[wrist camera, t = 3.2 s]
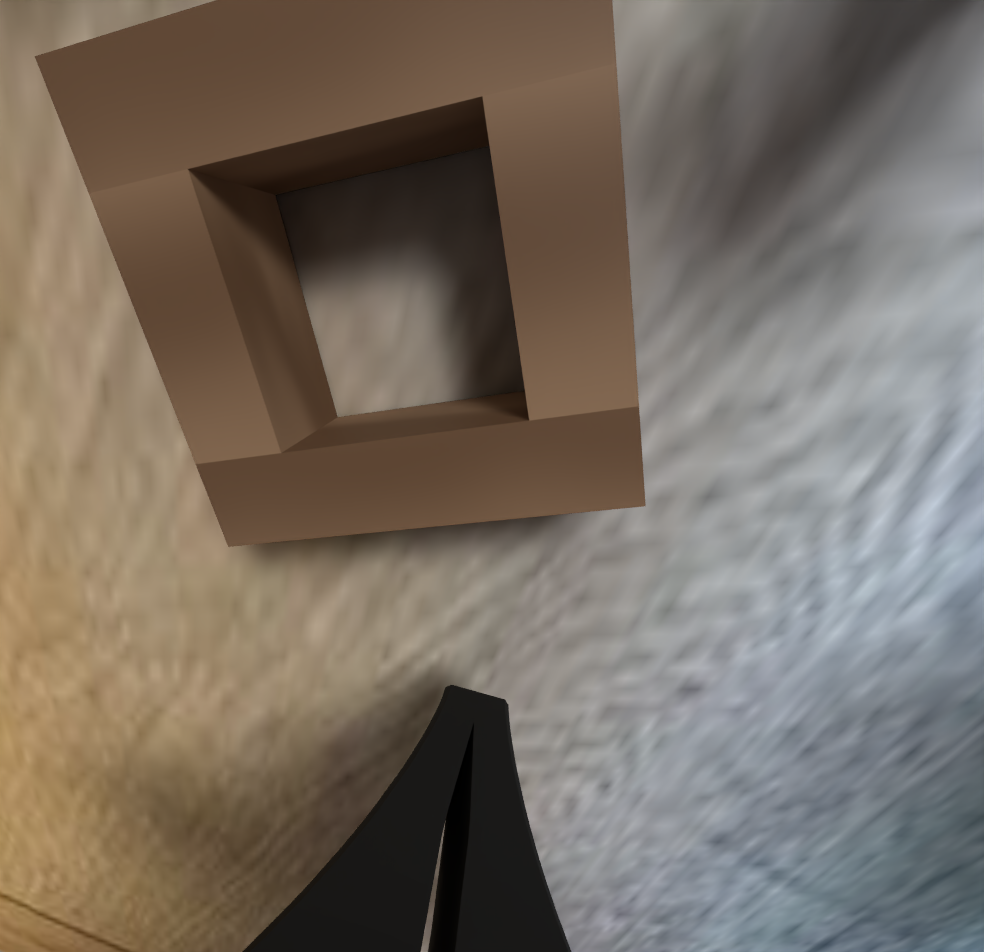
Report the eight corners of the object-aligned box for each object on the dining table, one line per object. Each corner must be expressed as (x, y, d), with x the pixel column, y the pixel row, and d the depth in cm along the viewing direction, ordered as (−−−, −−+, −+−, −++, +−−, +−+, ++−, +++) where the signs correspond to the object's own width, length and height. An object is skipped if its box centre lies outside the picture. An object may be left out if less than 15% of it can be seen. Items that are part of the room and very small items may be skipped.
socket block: (626, 457, 11) (645, 505, 9) (290, 496, 12) (228, 546, 10) (590, -6, 8) (604, -120, 6) (162, 110, 9) (34, 57, 7)
